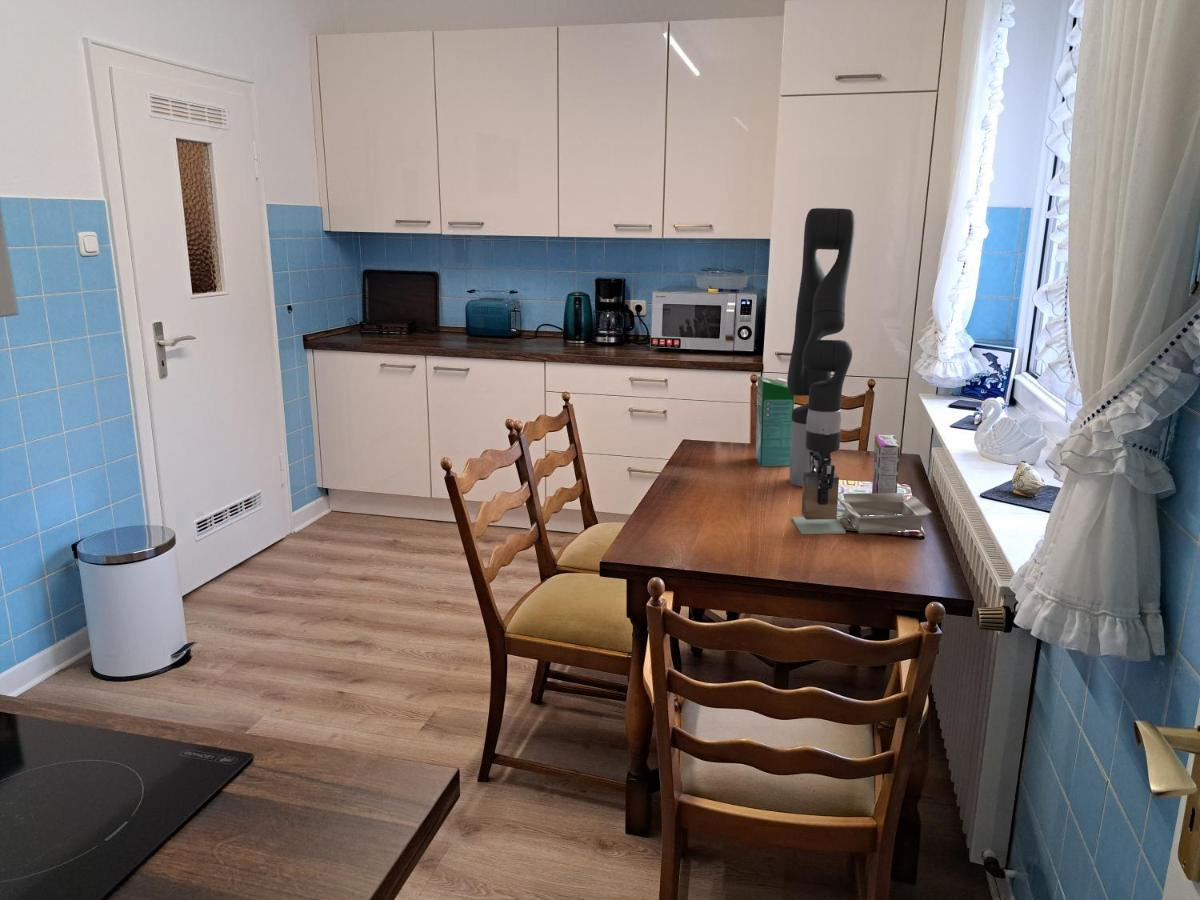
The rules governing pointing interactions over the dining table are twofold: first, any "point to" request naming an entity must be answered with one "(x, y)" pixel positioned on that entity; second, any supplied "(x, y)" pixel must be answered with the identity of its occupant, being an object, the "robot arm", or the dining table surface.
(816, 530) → the mat
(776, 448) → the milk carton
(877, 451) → the candy bar box
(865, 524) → the carton
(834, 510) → the block
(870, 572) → the dining table surface
